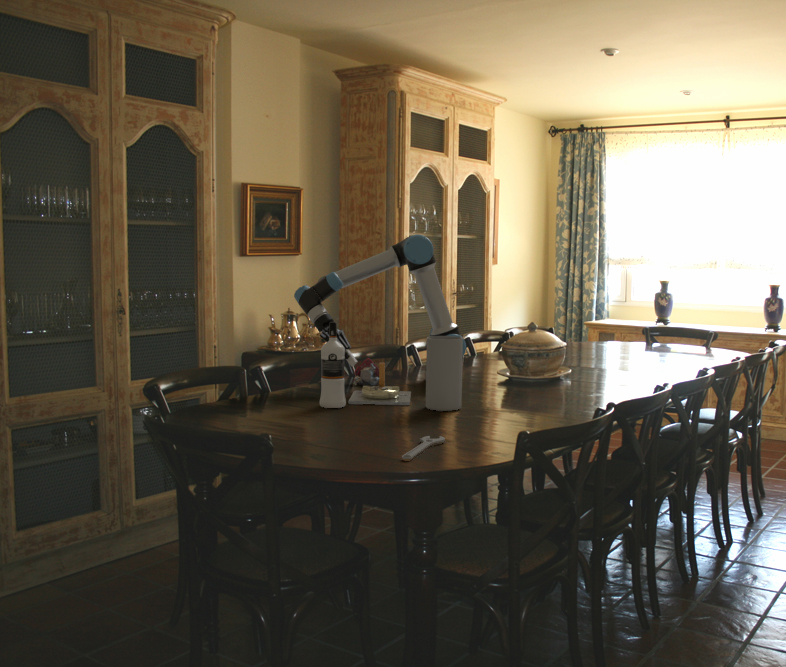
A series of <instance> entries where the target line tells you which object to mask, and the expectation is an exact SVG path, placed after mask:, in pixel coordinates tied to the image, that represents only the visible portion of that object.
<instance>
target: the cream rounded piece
mask: <svg viewBox="0 0 786 667" xmlns="http://www.w3.org/2000/svg"><path fill="white" fill-rule="evenodd" d="M378 369H379V381H378V383H379V384H378V385H362V388H361V390H362V396H363V397H366V398H372V399H391V398H397V397H399V396H400V391H401V390H400V389H401V388H400V386H397V385H396V386H388V385H386V378H385V377H386V373H385V372H386V371H385V370H386V363H385V362H379V365H378Z"/></svg>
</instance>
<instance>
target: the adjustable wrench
mask: <svg viewBox="0 0 786 667" xmlns="http://www.w3.org/2000/svg"><path fill="white" fill-rule="evenodd" d="M420 441H422V442H423V443H420V444H418V445H417V446H416V447H414V448H412V449H411V450H409V451H407V452H406V453H405V454H403V455H402V456H401V459H402V458H403V459H412V458H413V457H414V456H416V455H417V454H418V453H420V452H421V451H423V450H424V449H425V448H427V447H428V446H430V445H432V444H434V443H439V442H444V441H445V442H446V438H445V437H444V436H442V435H439V437H438V438H431V435H427V436H426V435H425V436H423V437H421V438H419V442H420Z"/></svg>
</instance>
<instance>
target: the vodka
mask: <svg viewBox="0 0 786 667" xmlns="http://www.w3.org/2000/svg"><path fill="white" fill-rule="evenodd" d="M329 324H330V325H329V328H330V329H329V341H328V342H326V343H324V344H323V345H322V346H321V347H320V348H321V349H320V355H321V356H320V359H321V378H320V382H321V388H320V390H321V391H320V392H321V393H320V399H319V406H320V407H321V408H323V407H324V408H323V409H327V408H338V409H343V408H344V407H345V406H346V404H347V399H346V394H345V379H346V378H345V356H344V355H345V348H344V346H343V345H342V344H340V343H339V342H338V341H337V338H336V337H337V329H338V327H337V325H338V324H337V322H336V321H334V322H330V323H329ZM336 328H337V329H336ZM342 407H343V408H342Z"/></svg>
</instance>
